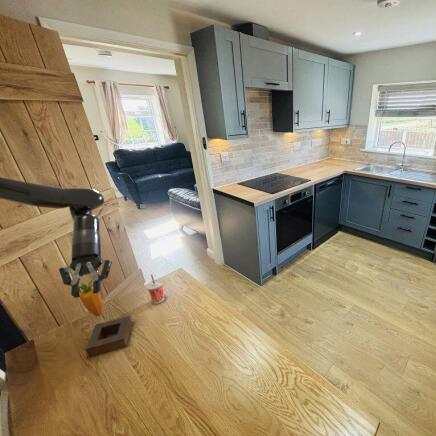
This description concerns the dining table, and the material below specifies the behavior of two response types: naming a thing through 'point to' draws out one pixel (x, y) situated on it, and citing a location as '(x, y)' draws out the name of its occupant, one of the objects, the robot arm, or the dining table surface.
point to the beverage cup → (155, 290)
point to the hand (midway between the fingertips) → (86, 295)
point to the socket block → (112, 343)
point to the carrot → (91, 299)
